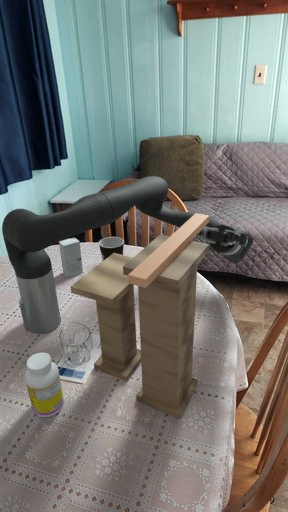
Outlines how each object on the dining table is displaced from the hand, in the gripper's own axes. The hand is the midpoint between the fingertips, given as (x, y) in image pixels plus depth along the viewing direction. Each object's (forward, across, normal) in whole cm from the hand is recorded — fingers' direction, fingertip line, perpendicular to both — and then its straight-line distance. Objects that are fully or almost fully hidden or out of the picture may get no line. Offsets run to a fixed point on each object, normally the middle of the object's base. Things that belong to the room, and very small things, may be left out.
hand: (210, 232), depth 82 cm
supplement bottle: (+18, +21, -44) cm, 52 cm away
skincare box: (-23, +52, -20) cm, 60 cm away
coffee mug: (-32, +42, -15) cm, 55 cm away
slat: (+20, 0, -6) cm, 21 cm away
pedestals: (+3, +7, -36) cm, 36 cm away
